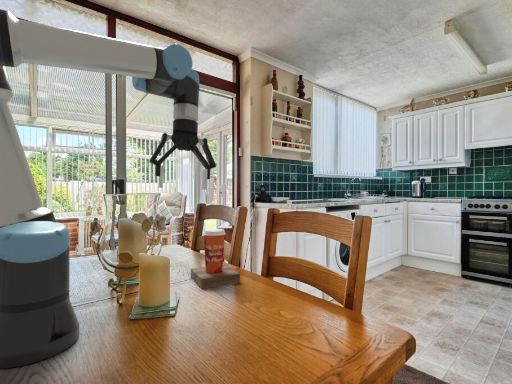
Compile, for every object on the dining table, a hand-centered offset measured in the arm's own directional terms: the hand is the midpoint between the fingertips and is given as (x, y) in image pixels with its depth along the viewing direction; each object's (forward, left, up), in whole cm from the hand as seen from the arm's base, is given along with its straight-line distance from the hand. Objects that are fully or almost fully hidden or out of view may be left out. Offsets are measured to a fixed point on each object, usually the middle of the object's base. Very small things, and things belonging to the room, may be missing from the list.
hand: (183, 188), depth 88 cm
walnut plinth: (+3, -12, -31) cm, 33 cm away
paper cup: (+3, -11, -28) cm, 30 cm away
